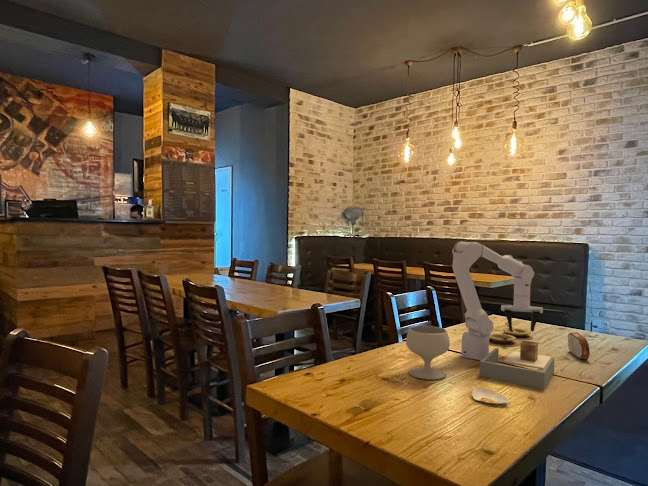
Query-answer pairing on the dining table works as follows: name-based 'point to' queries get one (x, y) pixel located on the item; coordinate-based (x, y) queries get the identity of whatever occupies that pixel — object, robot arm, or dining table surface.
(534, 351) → the walnut block
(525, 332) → the tableware set
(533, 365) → the mat
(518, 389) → the dining table surface
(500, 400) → the pale veined leaf
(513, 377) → the open box
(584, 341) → the tin
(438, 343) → the chalice
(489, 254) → the robot arm
